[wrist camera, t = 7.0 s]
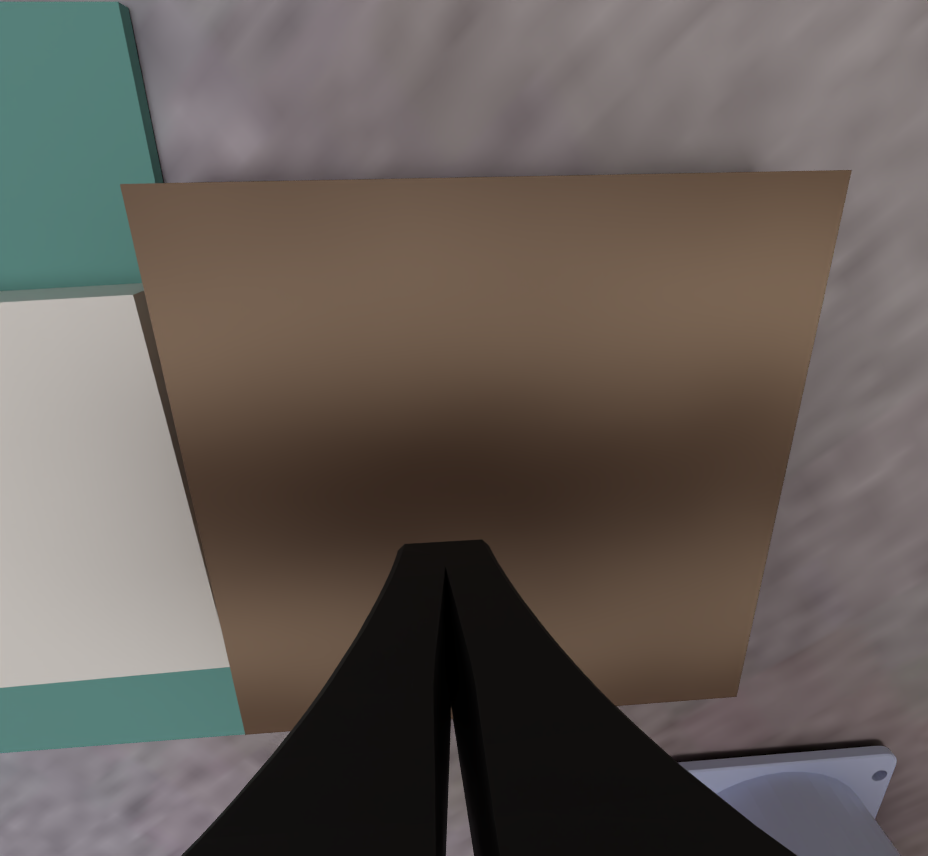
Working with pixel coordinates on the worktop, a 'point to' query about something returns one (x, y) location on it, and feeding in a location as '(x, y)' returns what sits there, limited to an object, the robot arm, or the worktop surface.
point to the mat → (76, 265)
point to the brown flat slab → (488, 403)
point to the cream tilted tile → (94, 497)
